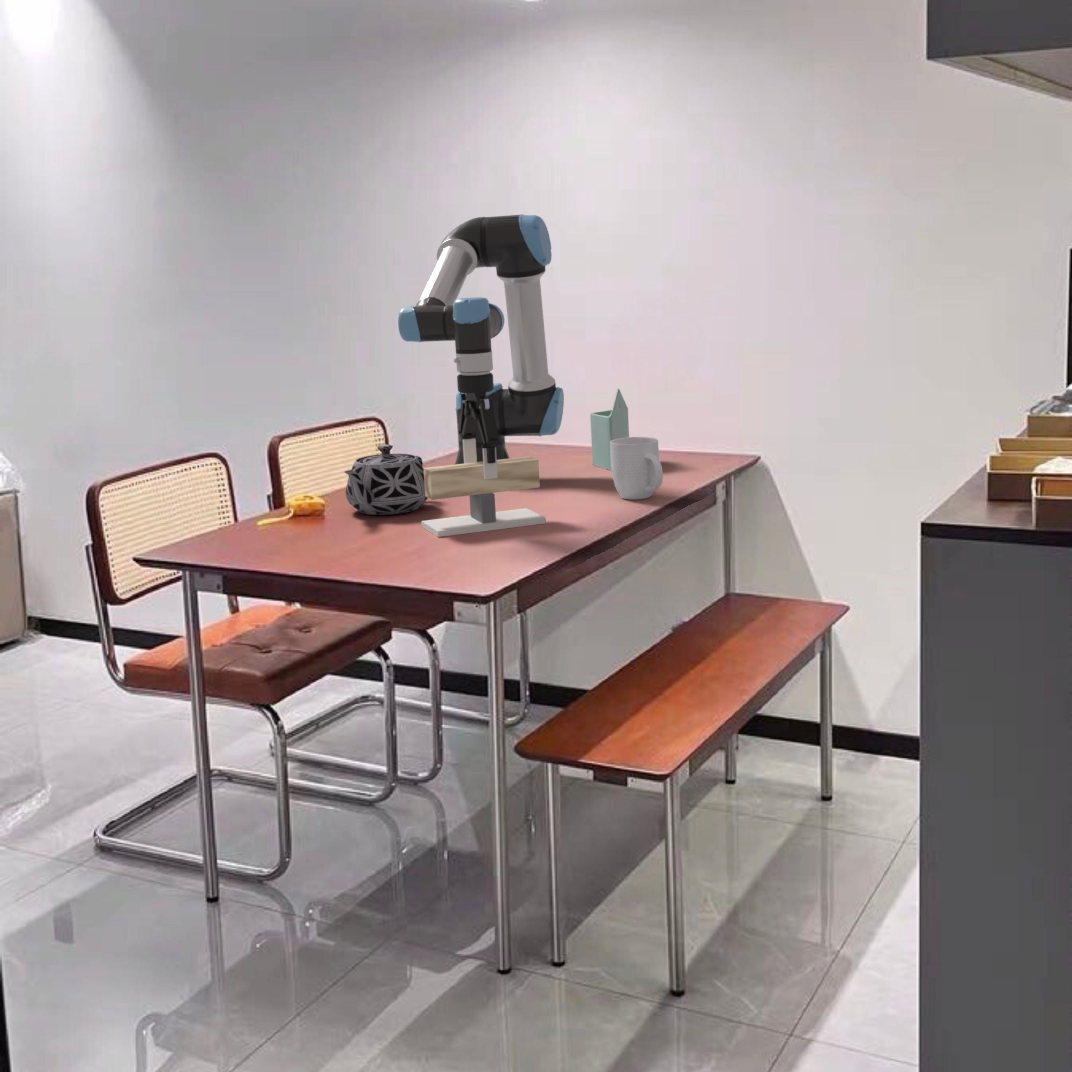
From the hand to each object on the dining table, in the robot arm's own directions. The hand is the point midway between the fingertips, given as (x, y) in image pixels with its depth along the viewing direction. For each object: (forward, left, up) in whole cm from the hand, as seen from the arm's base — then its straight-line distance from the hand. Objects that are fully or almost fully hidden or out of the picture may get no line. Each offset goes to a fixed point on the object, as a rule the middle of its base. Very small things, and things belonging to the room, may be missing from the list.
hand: (480, 473), depth 312 cm
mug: (-8, +40, -11) cm, 42 cm away
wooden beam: (0, 0, -4) cm, 4 cm away
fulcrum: (0, 0, -11) cm, 11 cm away
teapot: (-27, -14, -11) cm, 32 cm away
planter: (-52, +51, -11) cm, 74 cm away
